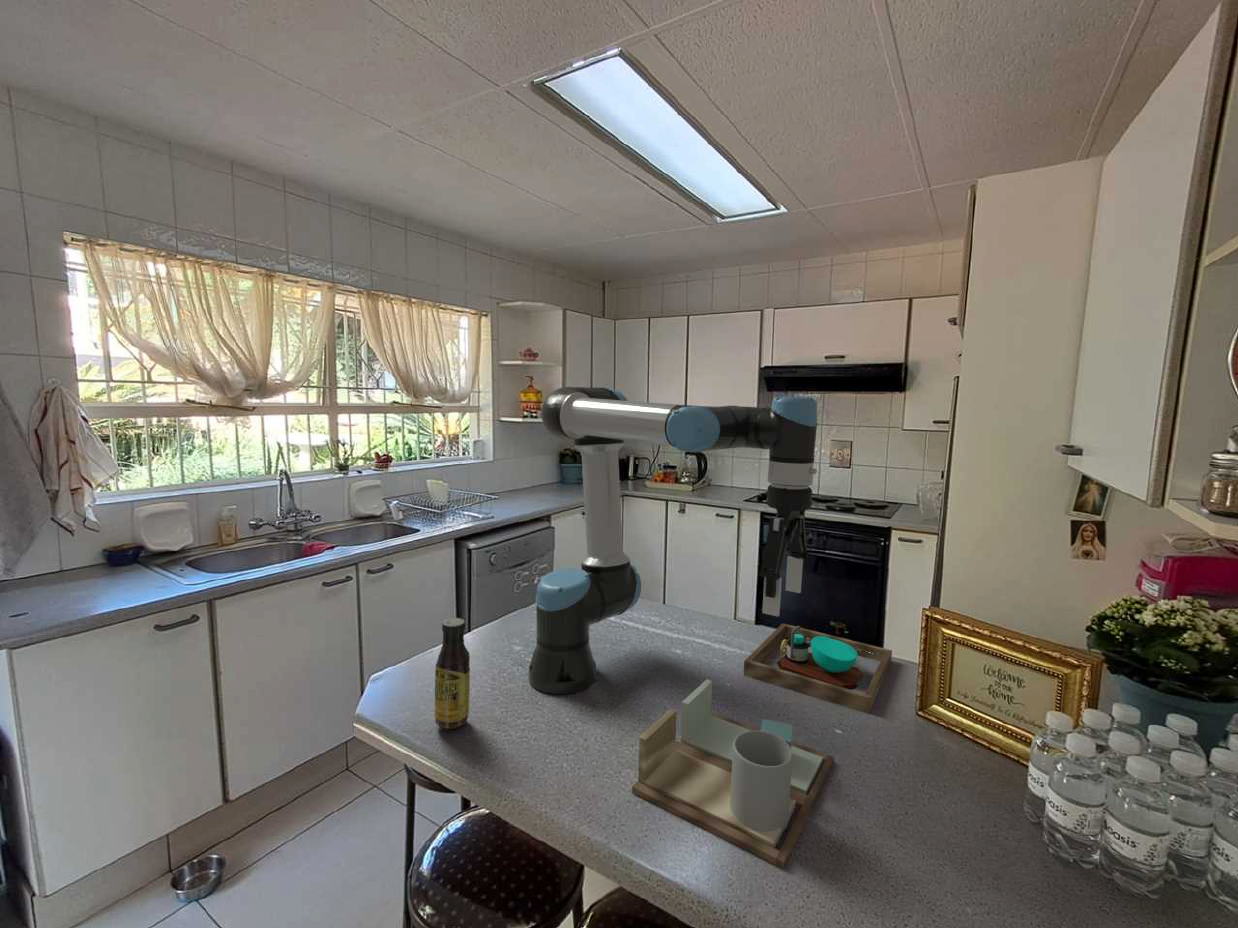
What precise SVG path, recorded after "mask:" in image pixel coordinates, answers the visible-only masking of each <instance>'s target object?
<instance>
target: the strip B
mask: <svg viewBox="0 0 1238 928" xmlns="http://www.w3.org/2000/svg"><path fill="white" fill-rule="evenodd" d="M712 703H713V680H710V679H709V678H708V679H705V680H704V681H703V682H702V683H701V684H700V685H698V687H697V688H695V689H694V691H692V692H691V693H690V694H689V695H688V696H687V697H685V698H684V700H682V702H681V721H680V723H681V726H680V742H681V743H684V744H686V745H689V746H691V747H693V748H696V749H698V750H701V751H703V752H705V753H708V754H710V755H713V756H715V757H717V758H720V759H722V760H725V761H727V762H729V763H732V755H733V743H734V740H735V738H736V737H737V736H738V735H739V734H741V733H743V732H747V731H751V730H748V729H746V728H743V727H740V726H737V725H735V724H732V723H729V722H727V721H724V720H721V719H719V718H716V717H713V716H711V712H712ZM791 751H792V773H791V788H792V789H794V790H797V791H799V792H801V793H804V794H806V795H808V794H809V792H810V790H811V788H812V786H813V784H814V782H815V780H816V778H817V776H818V774H819V772H820V770H821V768H822V766H823V764H822V763H823V757H821V756H818V755H815V754H813V753H810V752H807V751H805V750H802V749H799V748H797V747H794V746H791Z"/></svg>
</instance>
